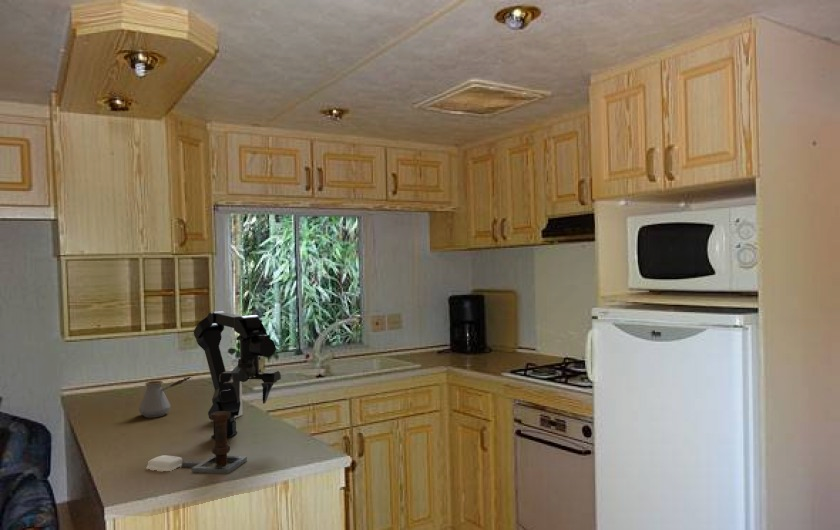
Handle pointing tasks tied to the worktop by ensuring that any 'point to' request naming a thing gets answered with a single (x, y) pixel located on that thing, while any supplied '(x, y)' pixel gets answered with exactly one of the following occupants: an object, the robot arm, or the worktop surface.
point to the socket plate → (201, 467)
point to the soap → (164, 463)
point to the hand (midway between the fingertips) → (250, 403)
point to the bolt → (220, 436)
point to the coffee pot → (156, 399)
